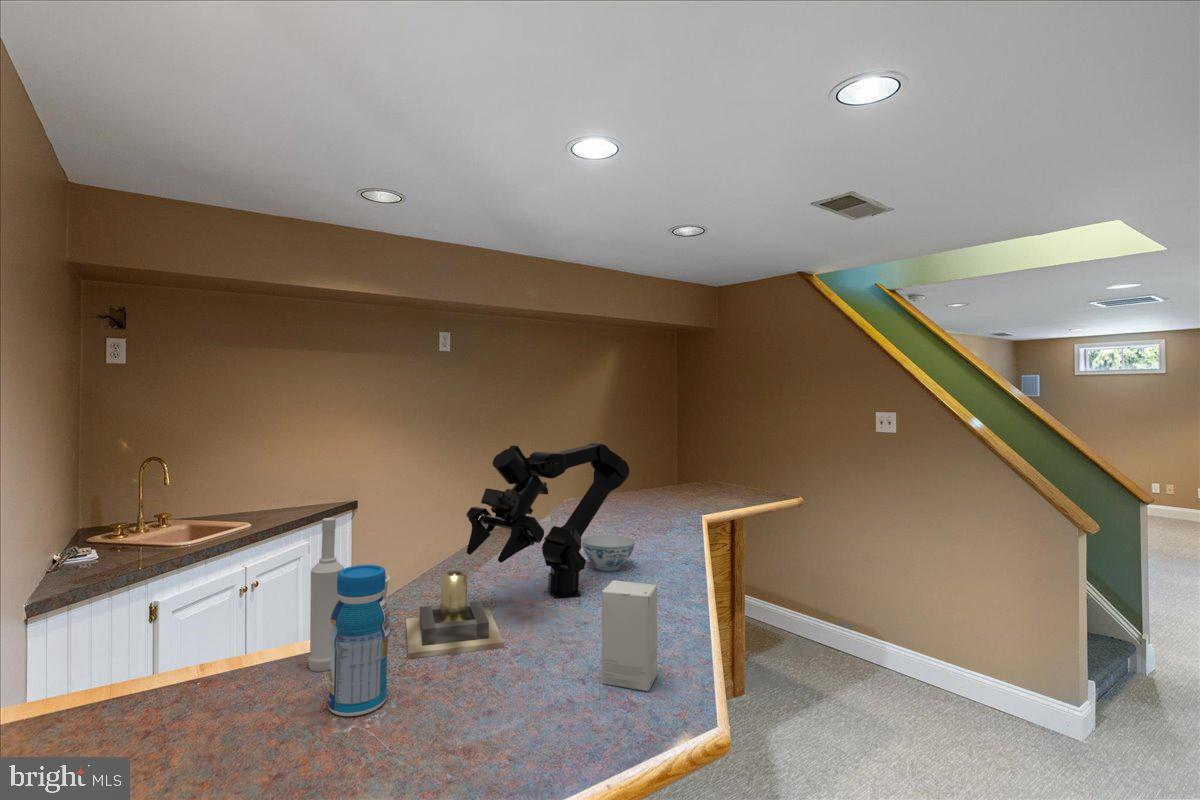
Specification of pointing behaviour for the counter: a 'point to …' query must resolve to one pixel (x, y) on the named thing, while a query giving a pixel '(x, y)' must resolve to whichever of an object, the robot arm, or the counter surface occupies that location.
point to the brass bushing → (453, 596)
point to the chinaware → (608, 550)
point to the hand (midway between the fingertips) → (483, 557)
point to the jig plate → (450, 646)
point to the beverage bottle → (359, 642)
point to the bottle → (323, 599)
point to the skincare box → (629, 635)
